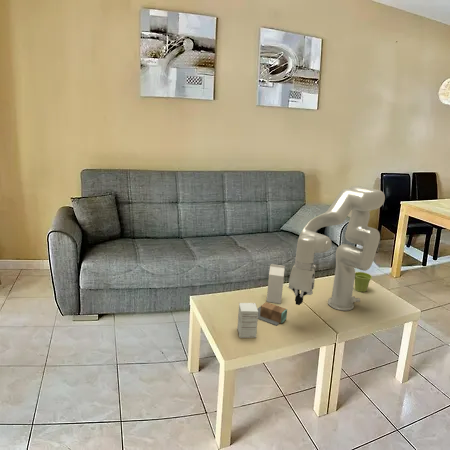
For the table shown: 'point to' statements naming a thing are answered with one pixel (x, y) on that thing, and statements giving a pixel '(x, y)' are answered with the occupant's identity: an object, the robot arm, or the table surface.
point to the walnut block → (273, 312)
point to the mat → (266, 318)
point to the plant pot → (362, 281)
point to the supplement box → (247, 320)
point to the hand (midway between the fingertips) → (298, 303)
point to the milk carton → (275, 283)
